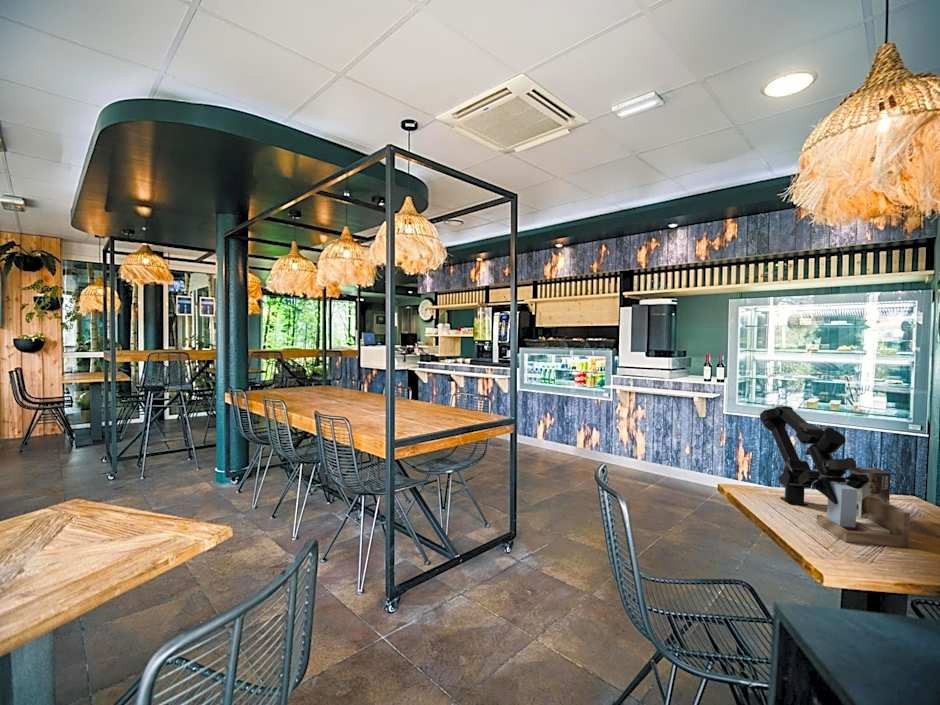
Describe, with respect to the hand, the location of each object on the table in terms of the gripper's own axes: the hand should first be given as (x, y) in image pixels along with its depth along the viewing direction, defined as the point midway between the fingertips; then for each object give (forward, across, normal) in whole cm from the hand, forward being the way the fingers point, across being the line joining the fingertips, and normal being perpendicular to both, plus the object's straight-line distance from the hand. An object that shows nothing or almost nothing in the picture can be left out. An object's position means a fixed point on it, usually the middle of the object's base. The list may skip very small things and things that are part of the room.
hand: (845, 504), depth 142 cm
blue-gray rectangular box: (+4, 0, +6) cm, 7 cm away
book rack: (+7, +4, +6) cm, 10 cm away
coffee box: (-6, +19, +19) cm, 27 cm away
